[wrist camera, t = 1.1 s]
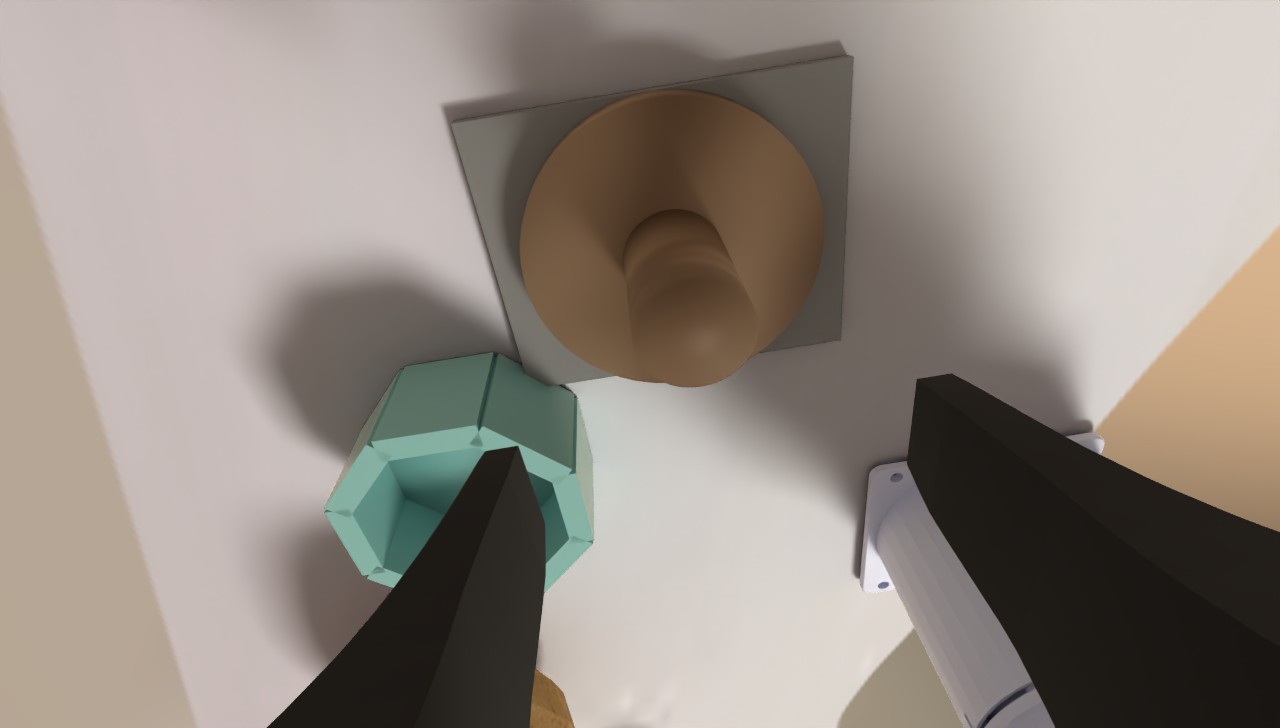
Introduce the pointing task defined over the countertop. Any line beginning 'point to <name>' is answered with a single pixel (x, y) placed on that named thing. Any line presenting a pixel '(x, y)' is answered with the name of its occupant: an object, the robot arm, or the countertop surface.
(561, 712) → the potato
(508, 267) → the mat
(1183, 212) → the countertop surface
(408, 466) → the bowl
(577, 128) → the lid
